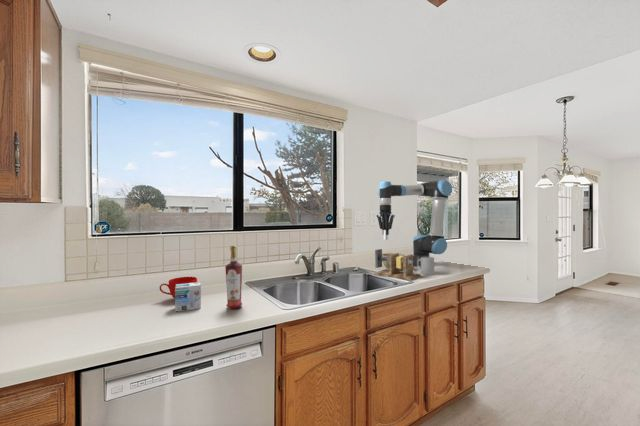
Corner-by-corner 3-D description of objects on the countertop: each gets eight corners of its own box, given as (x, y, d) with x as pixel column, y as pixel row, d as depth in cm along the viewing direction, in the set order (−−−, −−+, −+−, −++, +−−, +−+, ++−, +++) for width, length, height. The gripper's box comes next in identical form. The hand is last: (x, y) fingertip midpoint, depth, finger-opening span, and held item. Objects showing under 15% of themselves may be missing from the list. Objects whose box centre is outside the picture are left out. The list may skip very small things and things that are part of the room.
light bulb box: (175, 312, 130) (174, 287, 130) (175, 307, 136) (175, 284, 136) (201, 308, 134) (201, 284, 134) (200, 304, 140) (200, 281, 140)
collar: (405, 266, 195) (405, 256, 195) (400, 268, 190) (400, 257, 189) (401, 266, 197) (401, 255, 197) (396, 268, 192) (396, 257, 192)
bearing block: (420, 276, 191) (420, 254, 191) (410, 280, 181) (410, 257, 181) (385, 271, 209) (385, 251, 209) (374, 274, 199) (373, 253, 199)
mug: (436, 274, 199) (436, 257, 199) (429, 275, 193) (429, 258, 193) (421, 271, 208) (420, 255, 208) (413, 273, 203) (413, 256, 203)
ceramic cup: (160, 298, 150) (160, 279, 150) (197, 294, 157) (196, 275, 157) (158, 306, 139) (158, 284, 139) (197, 301, 146) (197, 280, 145)
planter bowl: (409, 270, 213) (409, 254, 213) (394, 273, 204) (393, 257, 204) (392, 266, 226) (392, 252, 226) (377, 269, 217) (376, 254, 217)
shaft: (414, 270, 190) (414, 252, 190) (409, 272, 186) (409, 253, 186) (380, 266, 207) (379, 249, 207) (375, 267, 203) (375, 249, 203)
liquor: (244, 304, 139) (243, 244, 138) (240, 310, 131) (239, 246, 131) (228, 305, 138) (227, 244, 138) (223, 310, 131) (222, 246, 131)
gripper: (374, 204, 202) (374, 239, 202) (391, 204, 193) (391, 240, 193) (380, 204, 208) (380, 238, 208) (396, 204, 199) (397, 239, 199)
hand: (385, 239), depth 200 cm, fingers closed
